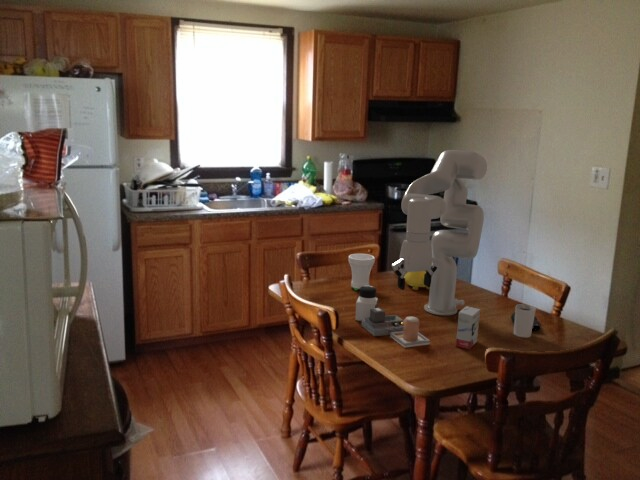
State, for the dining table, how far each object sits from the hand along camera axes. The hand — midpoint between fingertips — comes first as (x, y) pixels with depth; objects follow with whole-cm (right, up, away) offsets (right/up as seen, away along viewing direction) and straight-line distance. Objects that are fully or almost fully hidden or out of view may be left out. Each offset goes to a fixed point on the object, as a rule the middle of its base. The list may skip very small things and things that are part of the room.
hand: (414, 287), depth 190 cm
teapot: (+13, -5, +63) cm, 64 cm away
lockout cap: (-1, -17, +4) cm, 18 cm away
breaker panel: (-8, -16, +13) cm, 22 cm away
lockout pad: (-1, -18, +4) cm, 19 cm away
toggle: (-11, -13, +11) cm, 20 cm away
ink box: (+18, -19, +3) cm, 26 cm away
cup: (-14, -6, +57) cm, 59 cm away
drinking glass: (+40, -18, +13) cm, 46 cm away
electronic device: (+45, -16, +23) cm, 53 cm away
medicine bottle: (-14, -13, +23) cm, 30 cm away
